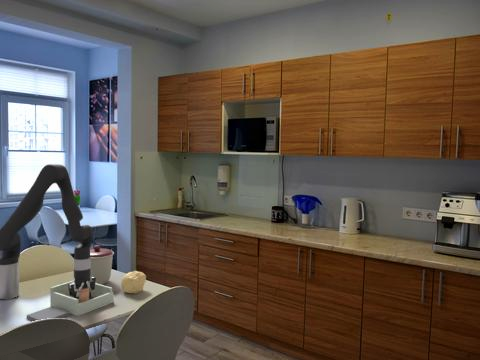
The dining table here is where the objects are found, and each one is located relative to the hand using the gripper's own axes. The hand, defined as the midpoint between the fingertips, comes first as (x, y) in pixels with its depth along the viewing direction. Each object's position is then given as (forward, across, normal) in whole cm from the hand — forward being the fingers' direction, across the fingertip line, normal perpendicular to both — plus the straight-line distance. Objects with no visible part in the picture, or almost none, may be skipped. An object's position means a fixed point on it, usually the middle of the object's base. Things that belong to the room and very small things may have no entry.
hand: (82, 301), depth 192 cm
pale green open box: (+1, 0, 0) cm, 1 cm away
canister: (+1, -25, -20) cm, 32 cm away
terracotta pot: (+1, 0, 0) cm, 1 cm away
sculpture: (+1, -26, +7) cm, 27 cm away
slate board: (+1, +18, 0) cm, 18 cm away
